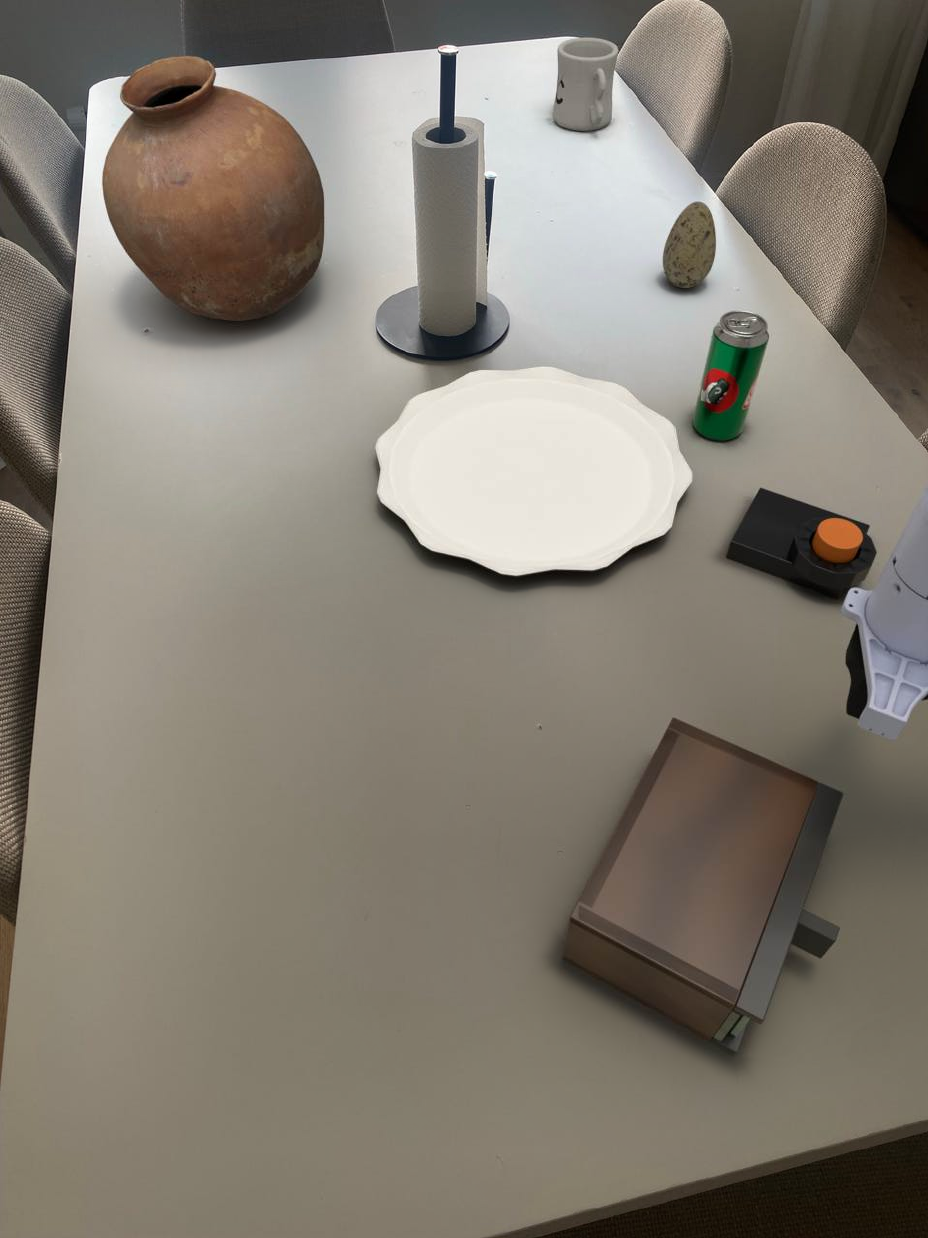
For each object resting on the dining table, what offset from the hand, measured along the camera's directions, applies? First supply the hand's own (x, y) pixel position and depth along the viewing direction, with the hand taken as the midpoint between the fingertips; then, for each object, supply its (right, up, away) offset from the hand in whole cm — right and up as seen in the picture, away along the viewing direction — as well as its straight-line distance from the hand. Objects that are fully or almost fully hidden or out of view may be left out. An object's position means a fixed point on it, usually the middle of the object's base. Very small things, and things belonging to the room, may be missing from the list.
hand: (864, 712), depth 59 cm
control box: (+4, +12, +22) cm, 26 cm away
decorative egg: (0, +46, +51) cm, 69 cm away
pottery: (-53, +44, +50) cm, 85 cm away
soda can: (0, +25, +34) cm, 42 cm away
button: (+5, +12, +17) cm, 22 cm away
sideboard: (-11, -12, +2) cm, 17 cm away
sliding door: (-7, -17, -3) cm, 18 cm away
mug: (-7, +82, +81) cm, 115 cm away
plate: (-20, +20, +29) cm, 40 cm away
